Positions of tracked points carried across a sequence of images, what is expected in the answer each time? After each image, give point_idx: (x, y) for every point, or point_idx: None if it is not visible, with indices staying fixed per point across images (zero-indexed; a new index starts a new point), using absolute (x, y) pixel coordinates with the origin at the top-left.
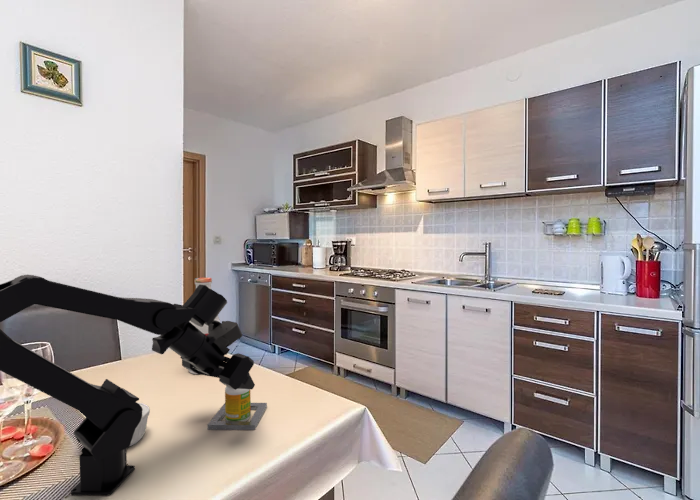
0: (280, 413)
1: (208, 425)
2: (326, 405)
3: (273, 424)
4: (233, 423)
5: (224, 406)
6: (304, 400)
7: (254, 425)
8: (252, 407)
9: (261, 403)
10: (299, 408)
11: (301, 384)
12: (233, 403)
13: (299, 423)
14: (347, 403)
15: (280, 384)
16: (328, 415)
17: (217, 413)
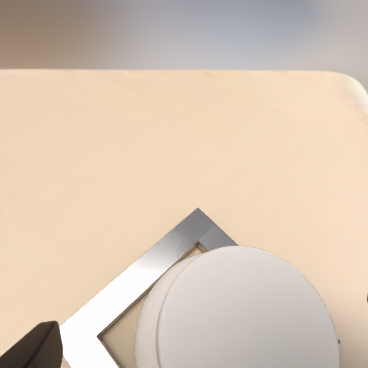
0: (268, 209)
1: None
2: (301, 107)
3: (325, 266)
4: None
5: (85, 360)
6: (237, 121)
7: (339, 342)
8: (178, 259)
9: (187, 223)
10: (273, 156)
11: (141, 73)
12: None
13: (360, 206)
14: (320, 77)
15: (86, 103)
16: (355, 134)
17: None
